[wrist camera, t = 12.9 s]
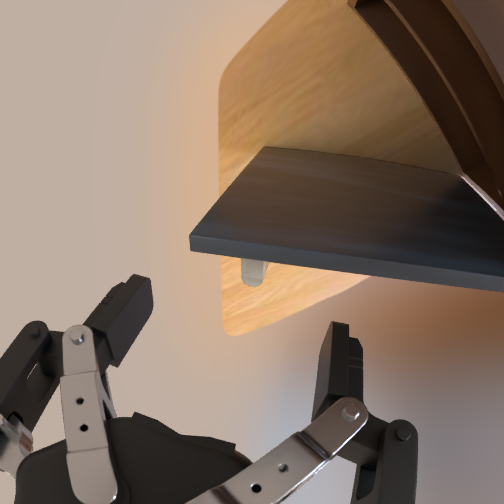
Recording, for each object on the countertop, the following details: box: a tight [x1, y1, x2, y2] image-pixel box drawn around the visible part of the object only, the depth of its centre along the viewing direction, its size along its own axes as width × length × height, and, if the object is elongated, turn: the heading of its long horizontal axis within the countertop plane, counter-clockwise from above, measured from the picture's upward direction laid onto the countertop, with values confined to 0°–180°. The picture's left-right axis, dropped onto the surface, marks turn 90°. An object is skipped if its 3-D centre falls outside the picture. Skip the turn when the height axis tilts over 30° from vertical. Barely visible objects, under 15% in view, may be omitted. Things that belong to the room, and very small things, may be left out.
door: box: [189, 147, 504, 292], centre depth 29 cm, size 7×26×24 cm, turn 89°
